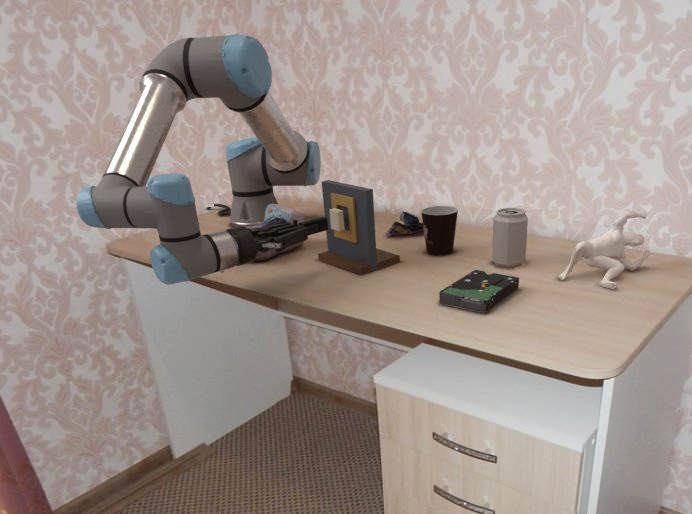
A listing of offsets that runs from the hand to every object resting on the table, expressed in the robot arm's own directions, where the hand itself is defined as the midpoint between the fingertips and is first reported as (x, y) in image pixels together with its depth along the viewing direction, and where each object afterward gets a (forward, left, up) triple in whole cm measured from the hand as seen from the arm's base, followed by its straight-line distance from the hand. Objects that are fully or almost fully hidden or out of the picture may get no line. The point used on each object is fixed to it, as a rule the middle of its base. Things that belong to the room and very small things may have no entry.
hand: (325, 223), depth 138 cm
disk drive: (+34, +16, -11) cm, 39 cm away
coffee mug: (+4, +28, -11) cm, 31 cm away
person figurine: (+40, +45, -11) cm, 61 cm away
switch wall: (-1, +8, -11) cm, 14 cm away
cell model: (-22, -7, -11) cm, 26 cm away
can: (+22, +34, -11) cm, 42 cm away
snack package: (-13, +30, -11) cm, 35 cm away
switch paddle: (-1, +3, -2) cm, 4 cm away
